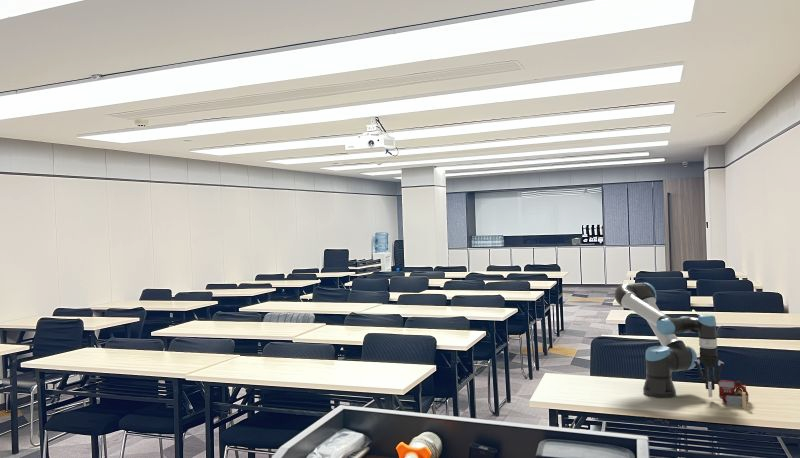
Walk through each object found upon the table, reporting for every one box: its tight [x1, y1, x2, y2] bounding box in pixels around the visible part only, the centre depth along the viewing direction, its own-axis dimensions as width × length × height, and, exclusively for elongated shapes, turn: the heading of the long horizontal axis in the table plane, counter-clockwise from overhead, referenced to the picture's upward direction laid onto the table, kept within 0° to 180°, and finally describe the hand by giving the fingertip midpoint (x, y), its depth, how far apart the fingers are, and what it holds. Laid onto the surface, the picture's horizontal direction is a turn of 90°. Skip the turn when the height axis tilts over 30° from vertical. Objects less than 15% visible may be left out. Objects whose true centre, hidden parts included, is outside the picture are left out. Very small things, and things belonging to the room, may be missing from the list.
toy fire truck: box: [717, 379, 749, 405], centre depth 268 cm, size 7×12×10 cm, turn 65°
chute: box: [726, 385, 747, 410], centre depth 267 cm, size 8×15×7 cm, turn 148°
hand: (710, 396), depth 273 cm, fingers closed
